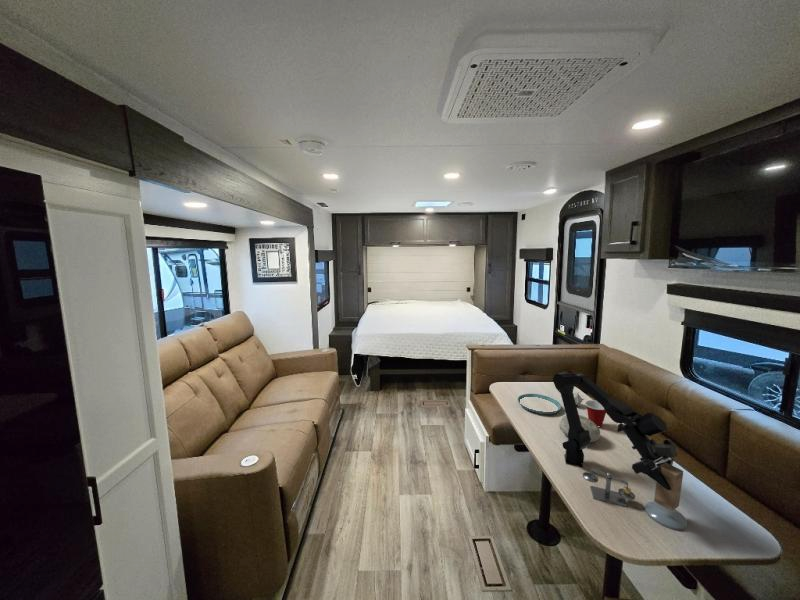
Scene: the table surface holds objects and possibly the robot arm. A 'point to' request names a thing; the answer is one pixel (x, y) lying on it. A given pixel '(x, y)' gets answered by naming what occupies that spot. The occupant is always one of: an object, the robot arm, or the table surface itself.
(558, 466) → the table surface
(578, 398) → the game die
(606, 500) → the balance
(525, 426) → the table surface
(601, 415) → the plastic cup
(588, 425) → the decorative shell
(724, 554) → the table surface
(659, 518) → the slate dish
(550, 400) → the teal ring
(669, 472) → the walnut block
